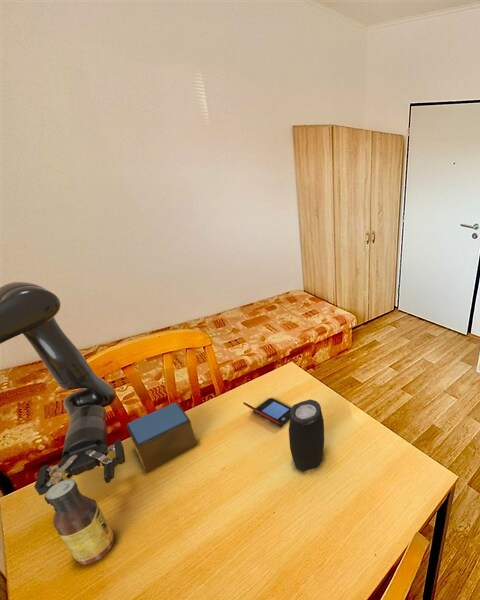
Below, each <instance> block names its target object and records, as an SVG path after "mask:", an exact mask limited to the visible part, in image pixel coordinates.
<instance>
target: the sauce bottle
mask: <svg viewBox="0 0 480 600" xmlns="http://www.w3.org/2000/svg"><path fill="white" fill-rule="evenodd" d="M57 482H58V481H57ZM57 482H56V483H57ZM78 486H79V485H78V483H77V482H76V481H75V479H73V478H71V479H67V480H64V481H61V482H58V483H57V484H55V485H54V486H52V487H51V488H50V489H49V490H48V491H47V493H45V494H46V499H47V500H48V502H49V503H51V504H52V507H53V510H54V511H55V512H54V513H53V517H52V525H53V527H54V528H55V530H56V531H57V532H56V533H57V534H58V537H59V538H60V539H61V540H62V542H63V544H64V545H65V547H66V549H68V551H69V553H70V554H71V556H72V557H73V559H74V560H75V561H76V562H77V563H78V564H80V565H84V566H85V565H91V564H94V563H95V562H98V561H99V560H101V559H102V558H104V556H106V555H107V554H108V553H109V552H110V550H111V549H112V547H113V545H114V541H115V538H114V533H113V530H112V529H111V527H110V525H109V523H108V521H107V519H106V517H105V515H104V513H103V512H102V509H101V508H100V506H99V504H98V503H97V501H96V500H95V499H93V498H90V497H88V496H86V495H84V494H82V492H80V490H79V488H78ZM51 504H50V505H51Z"/></svg>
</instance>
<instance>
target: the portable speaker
mask: <svg viewBox="0 0 480 600" xmlns="http://www.w3.org/2000/svg"><path fill="white" fill-rule="evenodd" d="M290 408H291V411H290V413H291V416H290V420H289V425H288V441H289V450H290V454H291V457H292V460H293V461H292V462H293V463H294V466H295V469H296V470H298V471H300V472H302V473H303V472H305V471H310V470H313V469H317V468H319V467H320V465H321V464H322V462H323V456H324V449H325V421H324V415H323V411H322V406H321V404H320V403H319V402H318V401H317V400H314V399H311V398H310V399H306V400H303V401H300V402H298V403H297V402H296V403H295V404H293V405H292V406H291V407H290Z"/></svg>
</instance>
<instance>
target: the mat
mask: <svg viewBox="0 0 480 600" xmlns="http://www.w3.org/2000/svg"><path fill="white" fill-rule="evenodd" d="M176 403H177V402H173V403H171V404H168V405H166V406H164V407H161V408H160V409H157V410H155V411H152V412H150V413H148V414H146V415H143V416H141V417H139V418H137V419H134V420H132V421H130V422H128V423H127V424H128V425H129V427H130V429H131V431H132V433H133V435H134V437H135V439H136V441H137V443H138V445H139V444H141V443H143V442H145V441H147V440H149V439H151V438H153V437H155V436H158V435H160V434H162V433H164V432H166V431H168V430H170V429H172V428H174V427H176V426H178V425H180V424H182V423H184V422H186V421H188V419H187V418H186V416H185V415H184V414H183V412H182V411H181V409H180V408H179V407H178V405H177V404H176Z"/></svg>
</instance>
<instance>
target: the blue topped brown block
mask: <svg viewBox="0 0 480 600" xmlns="http://www.w3.org/2000/svg"><path fill="white" fill-rule="evenodd" d="M176 404H177V405H178V407H179V408H180V409H181V411H182V412H183V414H184V415H185V416H186V418H187V419H188V421H186V422H184V423H182V424H180V425H178V426H176V427H174V428H172V429H170V430H168V431H166V432H164V433H162V434H160V435H158V436H155V437H153V438H151V439H149V440H147V441H145V442H143V443H141V444H139V445H138V443H137V441H136V439H135V437H134V435H133V433H132V431H131V429H130V427H129V425H128V423H127V424H125V428H126V429H127V431H128V435H129V437H130V440H131V442H132V445H133V447H134V449H135V452H136V454H137V456H138V458H139V460H140V462H141V464H142V466H143V468H144V471H145V472H146V473H149V472H151V471H153V470H155V469H157V468H158V467H160V466H162V465H164V464H166V463H167V462H169V461H171V460H174V459H175V458H176V457H179V456H181V455H182V454H184V453H186V452H188V451H189V450H191V449H193V448H195V447H197V442H196V439H195V435H194V434H195V433H194V430H193V426H192V420H191V419H190V418H189V417H188V415H187V414H186V412H185V411H184V409H183V408H182V407H181V406H180V404H179V403H178V402H176Z"/></svg>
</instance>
